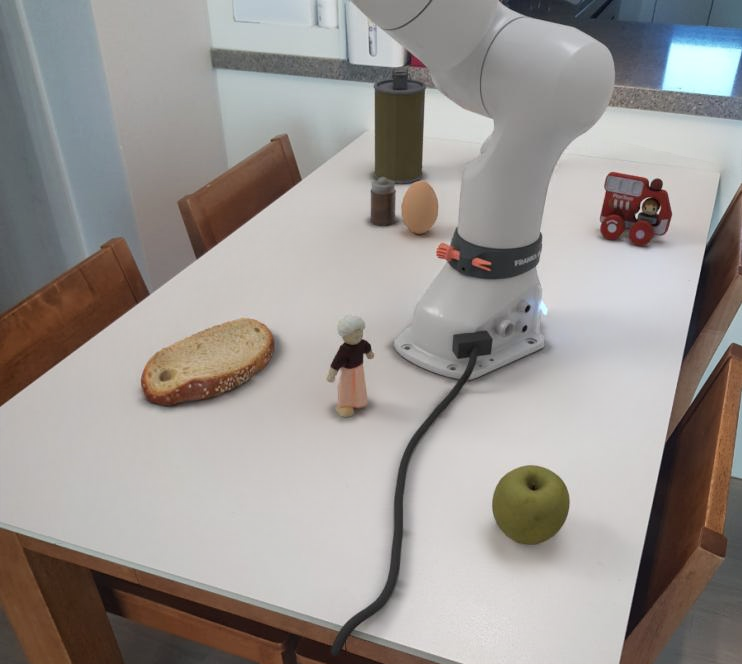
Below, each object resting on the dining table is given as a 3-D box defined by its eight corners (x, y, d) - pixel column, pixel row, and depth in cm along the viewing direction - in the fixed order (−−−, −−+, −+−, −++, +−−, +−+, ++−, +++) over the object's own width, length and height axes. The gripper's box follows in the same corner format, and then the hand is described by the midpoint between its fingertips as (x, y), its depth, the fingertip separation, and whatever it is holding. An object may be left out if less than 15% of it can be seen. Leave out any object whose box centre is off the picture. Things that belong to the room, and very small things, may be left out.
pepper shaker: (384, 227, 138) (384, 183, 133) (365, 221, 141) (365, 177, 135) (400, 220, 141) (401, 176, 135) (381, 214, 143) (382, 171, 138)
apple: (480, 548, 76) (487, 496, 72) (498, 499, 82) (506, 448, 77) (554, 568, 74) (566, 515, 70) (568, 516, 80) (580, 464, 75)
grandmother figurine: (349, 425, 92) (347, 333, 84) (324, 416, 94) (319, 324, 85) (382, 395, 97) (383, 306, 89) (357, 387, 99) (356, 298, 90)
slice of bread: (272, 328, 110) (270, 304, 108) (282, 396, 97) (280, 371, 95) (147, 339, 108) (142, 315, 106) (140, 410, 95) (134, 385, 92)
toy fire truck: (659, 250, 130) (675, 189, 124) (589, 236, 135) (601, 176, 128) (668, 236, 135) (684, 177, 128) (601, 223, 140) (613, 165, 133)
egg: (394, 236, 135) (395, 184, 129) (409, 223, 140) (410, 172, 134) (428, 242, 133) (431, 190, 127) (442, 229, 138) (445, 178, 132)
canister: (423, 184, 155) (428, 76, 142) (373, 184, 155) (373, 76, 142) (421, 166, 163) (425, 62, 150) (374, 166, 163) (373, 62, 150)
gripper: (501, -100, 113) (491, 8, 122) (415, -92, 102) (412, 26, 111) (537, -99, 110) (524, 12, 119) (452, -90, 99) (446, 32, 108)
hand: (469, 19), depth 115 cm, fingers open, 8 cm apart
